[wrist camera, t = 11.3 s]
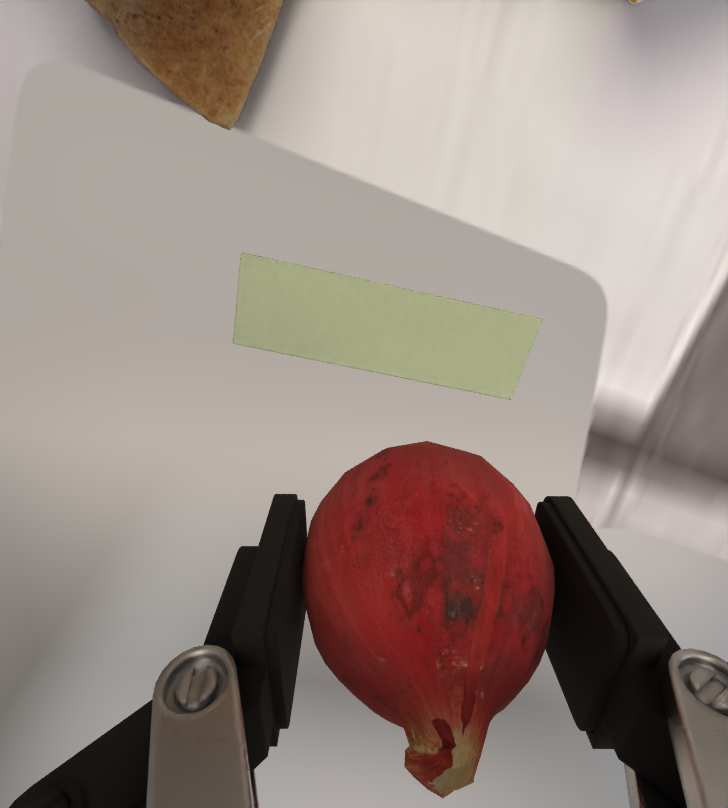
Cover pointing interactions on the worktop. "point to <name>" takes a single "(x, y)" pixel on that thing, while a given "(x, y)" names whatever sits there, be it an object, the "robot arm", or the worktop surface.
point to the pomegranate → (429, 598)
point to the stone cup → (198, 47)
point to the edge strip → (380, 327)
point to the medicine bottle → (635, 1)
